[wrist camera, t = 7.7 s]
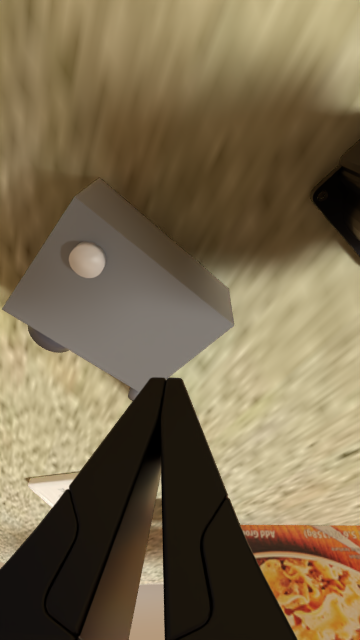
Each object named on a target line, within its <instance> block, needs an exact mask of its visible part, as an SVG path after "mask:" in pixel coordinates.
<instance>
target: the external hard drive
mask: <svg viewBox="0 0 360 640" xmlns="http://www.w3.org/2000/svg"><path fill="white" fill-rule="evenodd" d="M78 473H79V472H74V473H66V474H58V475H50V476H41V477H33V478H30V480H29V483H28V486H29V488H30V489H31V490H32V491H34V492H35V493H36V494H37V495H38V496H39V497H40V498H42V499H43V500H44V501H45V502H46V503H47V504H48V505H49V506H51V507H52V508H53V506H54V505H55V504H56V502H57V501H58V500H59V498H60V497H61V496H62V494H63V493H64V492H65V490H66V489H69V485H70V484H71V483H72V481H73V480H74V479H75V477H76V476H77V475H78Z"/></svg>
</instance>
